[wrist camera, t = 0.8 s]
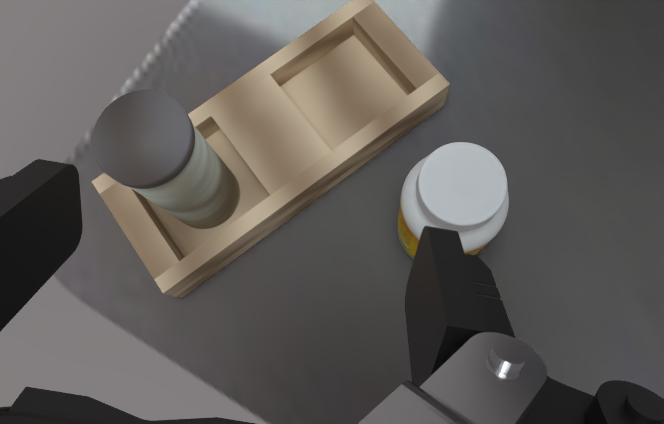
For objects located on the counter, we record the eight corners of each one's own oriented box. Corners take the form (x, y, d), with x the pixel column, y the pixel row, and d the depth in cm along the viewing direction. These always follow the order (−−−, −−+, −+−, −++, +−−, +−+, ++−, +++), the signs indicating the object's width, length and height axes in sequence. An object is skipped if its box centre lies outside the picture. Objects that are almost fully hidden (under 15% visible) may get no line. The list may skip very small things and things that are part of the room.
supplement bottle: (476, 183, 34) (514, 120, 24) (489, 267, 32) (535, 234, 23) (391, 192, 34) (397, 133, 25) (401, 275, 33) (411, 246, 23)
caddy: (365, 18, 37) (361, -110, 27) (443, 105, 35) (472, 3, 25) (114, 195, 35) (6, 131, 25) (181, 298, 33) (93, 275, 23)
